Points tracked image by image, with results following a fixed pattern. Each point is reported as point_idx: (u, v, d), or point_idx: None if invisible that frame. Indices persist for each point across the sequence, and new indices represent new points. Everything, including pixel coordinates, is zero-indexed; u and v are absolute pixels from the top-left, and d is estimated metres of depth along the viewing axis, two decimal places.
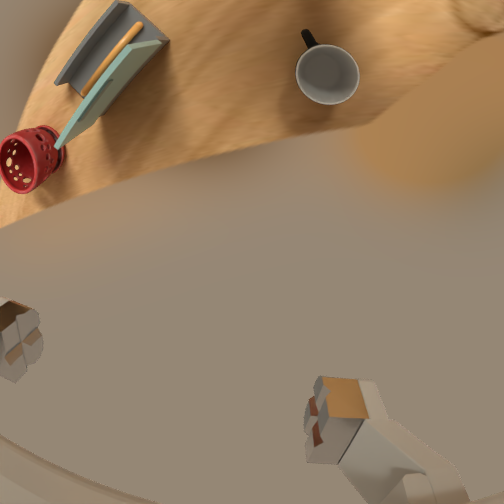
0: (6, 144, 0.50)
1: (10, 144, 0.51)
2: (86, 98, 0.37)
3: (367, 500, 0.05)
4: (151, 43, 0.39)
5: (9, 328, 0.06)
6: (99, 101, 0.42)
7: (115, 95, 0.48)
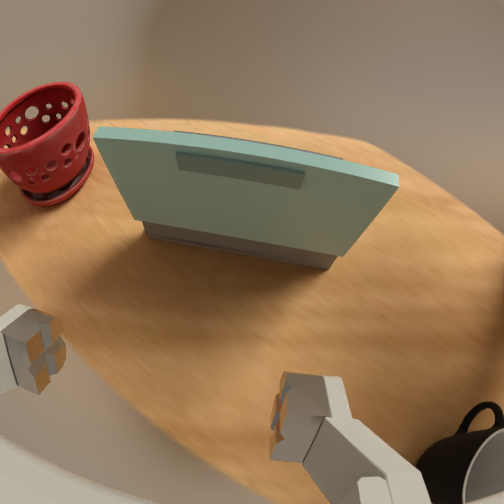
0: (60, 94, 0.32)
1: (59, 104, 0.34)
2: (246, 144, 0.19)
3: (331, 501, 0.05)
4: None
5: (33, 338, 0.06)
6: (219, 192, 0.23)
7: (210, 232, 0.30)
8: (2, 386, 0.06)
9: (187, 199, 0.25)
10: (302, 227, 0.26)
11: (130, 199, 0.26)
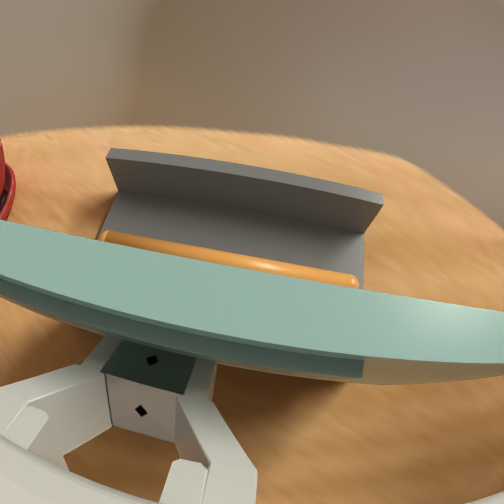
0: None
1: None
2: (141, 265, 0.05)
3: None
4: None
5: (144, 376, 0.06)
6: None
7: None
8: (96, 429, 0.06)
9: None
10: None
11: None
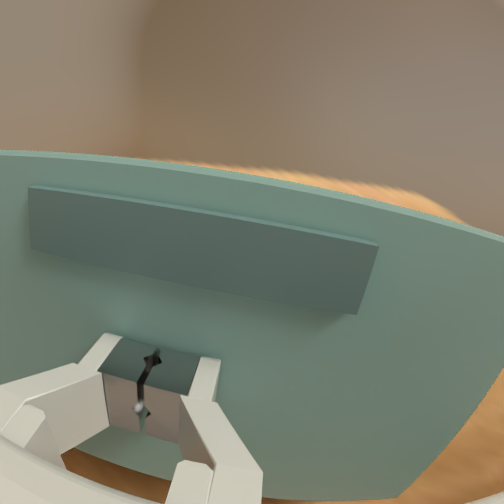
0: None
1: None
2: (208, 168, 0.07)
3: None
4: None
5: (141, 375, 0.06)
6: None
7: (119, 464, 0.11)
8: (94, 428, 0.06)
9: None
10: (331, 451, 0.09)
11: None
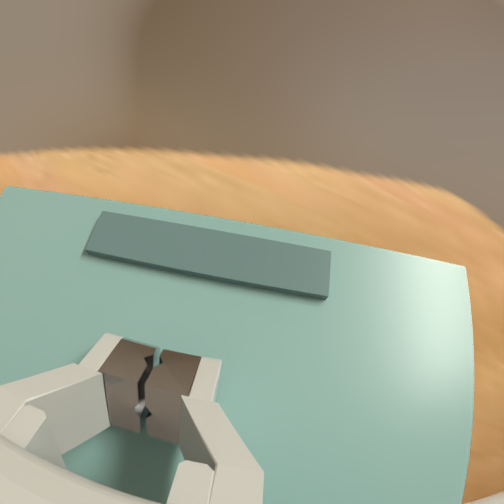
0: None
1: None
2: None
3: None
4: (460, 465, 0.08)
5: (142, 375, 0.06)
6: None
7: None
8: (94, 428, 0.06)
9: None
10: (344, 480, 0.07)
11: None
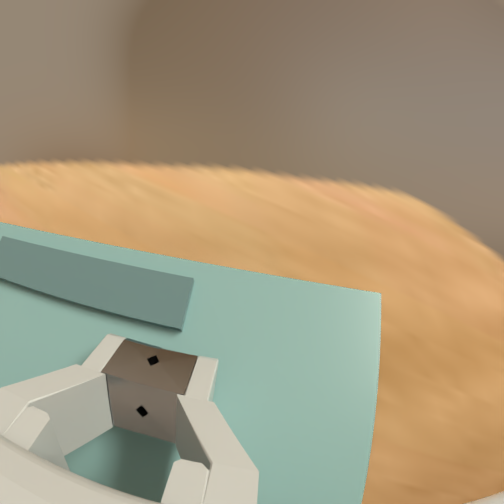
0: None
1: None
2: None
3: None
4: None
5: (145, 376, 0.06)
6: (15, 359, 0.08)
7: None
8: (97, 429, 0.06)
9: None
10: None
11: None
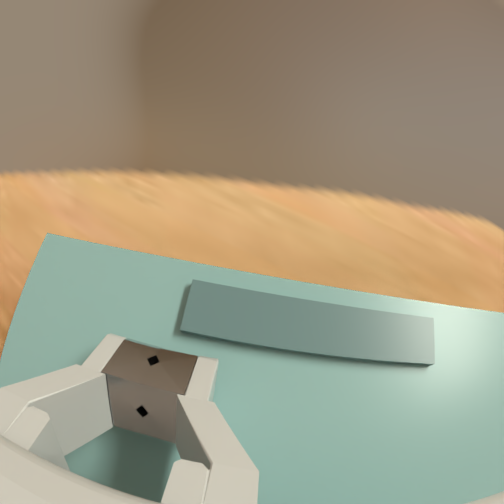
0: None
1: None
2: None
3: None
4: None
5: (145, 376, 0.06)
6: (257, 432, 0.08)
7: None
8: (97, 429, 0.06)
9: (153, 472, 0.07)
10: None
11: None
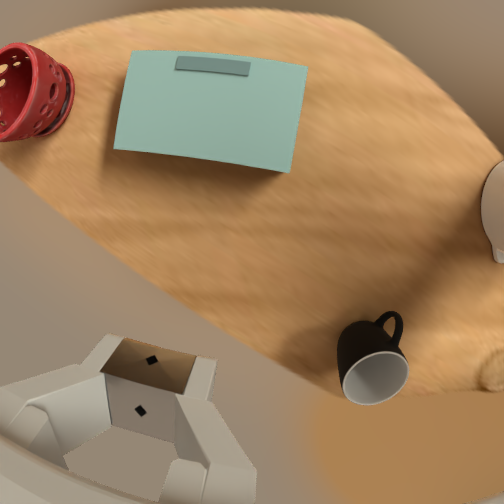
0: (19, 49, 0.27)
1: (22, 53, 0.28)
2: None
3: None
4: (296, 134, 0.33)
5: (144, 376, 0.06)
6: (195, 91, 0.31)
7: (175, 154, 0.33)
8: (96, 429, 0.06)
9: (169, 105, 0.32)
10: (251, 126, 0.32)
11: (124, 115, 0.32)
